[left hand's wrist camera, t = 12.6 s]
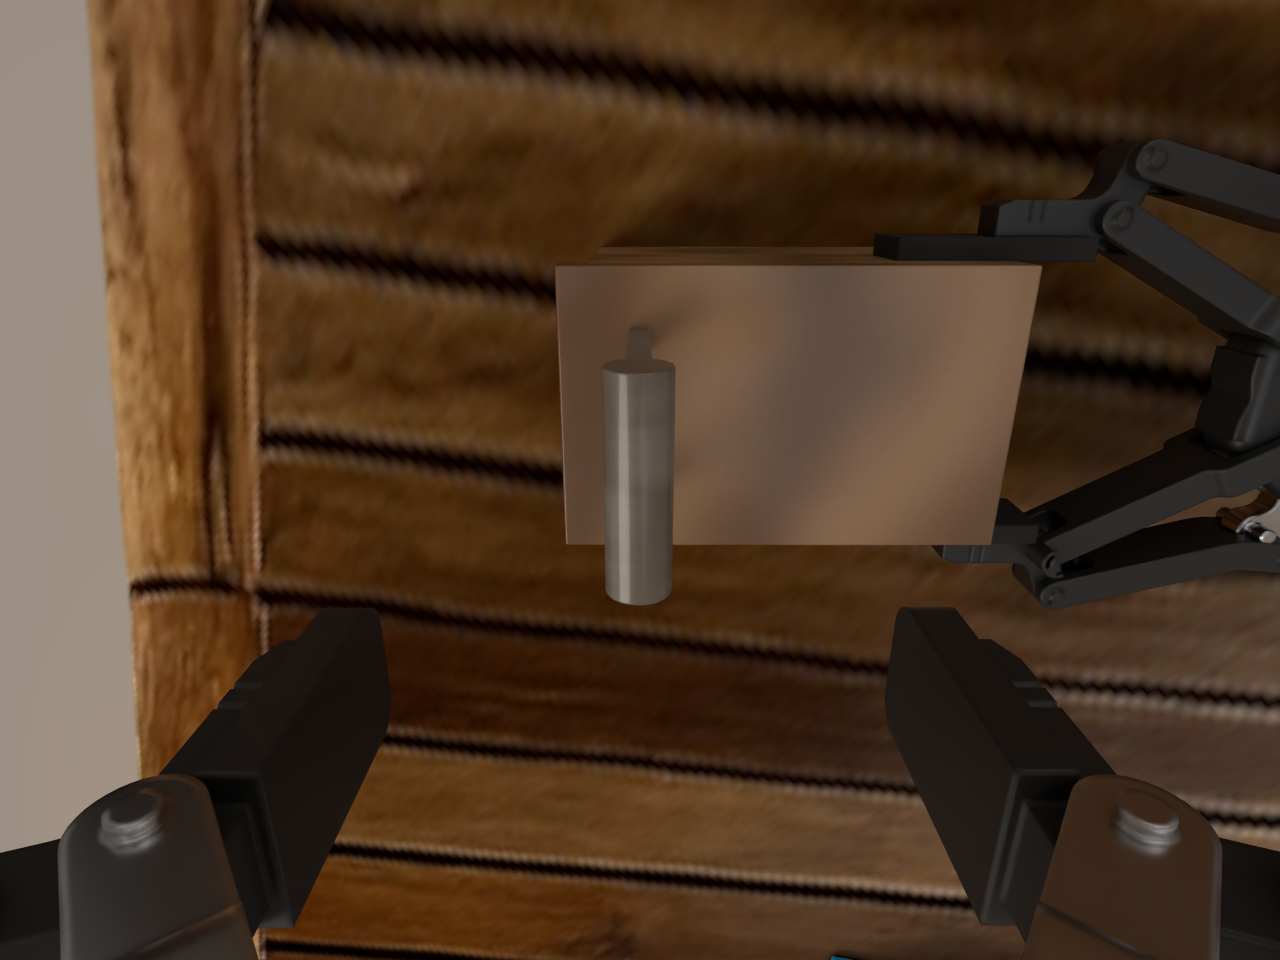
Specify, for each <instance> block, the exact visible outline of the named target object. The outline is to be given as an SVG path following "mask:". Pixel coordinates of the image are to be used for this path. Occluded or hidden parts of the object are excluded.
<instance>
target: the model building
mask: <svg viewBox="0 0 1280 960" xmlns="http://www.w3.org/2000/svg"><path fill="white" fill-rule="evenodd" d="M831 960H851V959H846V958H840V957H835V956H832V958H831Z"/></svg>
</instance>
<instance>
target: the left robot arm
mask: <svg viewBox="0 0 1280 960" xmlns="http://www.w3.org/2000/svg"><path fill="white" fill-rule="evenodd" d="M885 707H886V716H887V721H888V725H889V729H890V732H891V734H892V737H893V739H894V741H895V743H896V745H897V747H898V749H899V751H900V754H901V756H902V758H903V760H904V762H905V764H906V766H907V768H908V771H909V773H910V775H911V777H912V779H913V781H914V783H915V785H916V788H917V790H918V792H919V794H920V796H921V798H922V800H923V802H924V805H925V807H926V809H927V811H928V813H929V815H930V817H931V819H932V822H933V824H934V826H935V828H936V830H937V832H938V834H939V837H940V839H941V841H942V843H943V845H944V847H945V849H946V851H947V854H948V856H949V858H950V860H951V862H952V864H953V866H954V868H955V871H956V873H957V875H958V877H959V879H960V881H961V883H962V885H963V888H964V890H965V892H966V894H967V896H968V898H969V900H970V902H971V905H972V907H973V909H974V911H975V913H976V915H977V917H978V919H979V922H980V924H981V925H1016V926H1017V927H1018V929H1019V931H1020V933H1021V935H1022V937H1023V939H1024V941H1025V943H1026V946H1025V949H1024V953H1023V956H1022V959H1021V960H1280V852H1279V851H1274V850H1270V849H1266V848H1261V847H1257V846H1253V845H1249V844H1244V843H1240V842H1236V841H1231V840H1227V839H1223V838H1219V837H1218V835H1217V834H1216V832H1215V830H1214V829H1213V827H1212V826H1211V825H1210V824H1209V823H1208V821H1207V820H1206V819H1205V818H1204V817H1203V816H1202V815H1201V814H1200V813H1199V812H1197V811H1196V810H1195V809H1194V808H1193V807H1191V806H1190V805H1189V804H1187V803H1186V802H1185V801H1183V800H1181V799H1180V798H1178V797H1177V796H1175V795H1173V794H1171V793H1170V792H1168V791H1166V790H1164V789H1162V788H1160V787H1157V786H1155V785H1152V784H1150V783H1147V782H1144V781H1141V780H1138V779H1135V778H1131V777H1126V776H1120V775H1117V774H1116V773H1115V772H1114V771H1113V770H1112V768H1111V767H1110V766H1109V765H1108V764H1107V762H1106V761H1105V760H1104V759H1103V758H1102V756H1101V755H1100V754H1099V753H1098V751H1097V750H1096V749H1095V748H1094V747H1093V745H1092V744H1091V743H1090V742H1089V741H1088V739H1087V738H1086V737H1085V736H1084V735H1083V733H1082V732H1081V731H1080V730H1079V729H1078V727H1077V726H1076V725H1075V724H1074V723H1073V721H1072V720H1071V719H1070V718H1069V716H1068V715H1067V714H1066V713H1065V712H1064V710H1063V709H1062V708H1058V707H1057V702H1056V701H1055V700H1054V698H1053V697H1052V696H1051V695H1050V694H1049V692H1048V691H1047V690H1046V689H1045V688H1041V683H1040V681H1039V680H1038V679H1037V678H1036V677H1035V675H1034V674H1033V673H1032V672H1031V671H1030V669H1029V668H1028V667H1027V666H1026V665H1025V663H1024V662H1023V661H1022V660H1021V659H1020V658H1018V657H1017V656H1015V655H1014V654H1012V653H1011V652H1009V651H1008V650H1006V649H1005V648H1003V647H1002V646H1000V645H999V644H997V643H996V642H994V641H993V640H991V639H978V637H977V636H976V635H975V633H974V632H973V631H972V630H971V628H970V627H969V626H968V624H967V623H966V622H965V621H964V619H963V618H962V617H961V615H960V614H959V613H958V611H957V610H956V609H954V608H953V607H902V608H901V609H900V610H899V611H898V614H897V617H896V621H895V627H894V635H893V642H892V649H891V656H890V663H889V670H888V677H887V684H886V692H885ZM390 712H391V691H390V684H389V677H388V670H387V663H386V656H385V649H384V642H383V635H382V628H381V622H380V618H379V615H378V612H377V611H376V610H375V609H374V608H324V609H322V610H320V611H319V612H318V614H317V615H316V616H315V617H314V619H313V620H312V621H311V623H310V624H309V625H308V626H307V628H306V629H305V630H304V632H303V633H302V634H301V635H300V637H299V638H298V639H297V641H284V642H282V643H281V644H279V645H278V646H276V647H274V648H273V649H271V650H270V651H268V652H267V653H265V654H264V655H262V656H261V657H259V658H258V659H256V660H255V661H254V662H253V663H252V664H251V665H250V666H249V668H248V669H247V670H246V671H245V672H244V674H243V675H242V676H241V677H240V678H239V680H238V681H237V682H236V683H235V684H234V689H230V690H229V692H228V693H227V694H226V695H225V696H224V697H223V699H222V700H221V701H220V702H219V703H218V708H217V709H213V711H212V712H211V713H210V714H209V715H208V717H207V718H206V719H205V720H204V721H203V723H202V724H201V725H200V726H199V727H198V729H197V730H196V731H195V732H194V733H193V735H192V736H191V737H190V738H189V739H188V741H187V742H186V743H185V744H184V745H183V747H182V748H181V749H180V750H179V751H178V753H177V754H176V755H175V756H174V757H173V758H172V760H171V761H170V762H169V763H168V764H167V766H166V767H165V768H164V769H163V770H162V772H161V773H160V774H159V775H158V776H154V777H149V778H145V779H142V780H139V781H136V782H133V783H130V784H128V785H125V786H123V787H120V788H118V789H116V790H114V791H112V792H111V793H109V794H107V795H105V796H104V797H102V798H100V799H99V800H97V801H96V802H94V803H93V804H91V805H90V806H89V807H87V808H86V809H85V810H84V811H83V812H81V813H80V814H79V815H78V816H77V817H76V818H75V819H74V820H73V821H72V823H71V824H70V825H69V826H68V827H67V829H66V830H65V832H64V834H63V835H62V837H61V839H57V840H53V841H50V842H45V843H41V844H37V845H33V846H28V847H24V848H19V849H15V850H11V851H6V852H3V853H0V960H259V959H258V956H257V953H256V949H255V946H254V942H253V939H252V938H253V936H254V934H255V932H256V930H257V929H258V928H294V925H295V923H296V921H297V919H298V917H299V915H300V913H301V911H302V909H303V907H304V904H305V902H306V900H307V898H308V896H309V894H310V892H311V890H312V888H313V886H314V883H315V881H316V879H317V877H318V875H319V873H320V871H321V869H322V867H323V864H324V862H325V860H326V858H327V856H328V854H329V852H330V850H331V848H332V846H333V843H334V841H335V839H336V837H337V835H338V833H339V831H340V829H341V827H342V825H343V822H344V820H345V818H346V816H347V814H348V812H349V810H350V808H351V806H352V804H353V801H354V799H355V797H356V795H357V793H358V791H359V789H360V787H361V785H362V783H363V780H364V778H365V776H366V774H367V772H368V770H369V768H370V766H371V764H372V762H373V759H374V757H375V755H376V753H377V751H378V749H379V747H380V745H381V743H382V740H383V738H384V736H385V734H386V731H387V728H388V724H389V719H390Z"/></svg>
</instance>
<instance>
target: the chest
mask: <svg viewBox="0 0 1280 960" xmlns="http://www.w3.org/2000/svg"><path fill="white" fill-rule="evenodd" d="M873 249H874V247H600V248H599V249H598V250H597V252H596V253H595V254H594V255H593V256H592V258H591V259H590V260H589V261H588V262H587V263H1025V262H1019V261H895V260H891V259H887V258H883V257H879V256H874V255H873Z"/></svg>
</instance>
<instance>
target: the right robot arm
mask: <svg viewBox="0 0 1280 960" xmlns="http://www.w3.org/2000/svg"><path fill="white" fill-rule="evenodd" d="M1093 169H1094V173H1095V174H1094V176H1093V177H1092V179H1091V181H1090V183H1089V185H1088V186H1087V188H1086V189H1085V190H1084V191H1083V192H1082V193H1081V194H1079V195H1078V196H1076V197H1074V198H1071V199H1066V200H995V201H992V202H990V203H987V204H985V205H982V206H981V213H980V219H979V226H978V232H977V234H875V239H874V249H873V255H874V256H879V257H883V258H887V259H891V260H895V261H1019V262H1095V259H1096V254H1097V252H1098V253H1100V254H1102V255H1103V256H1105V257H1106V258H1108V259H1109V260H1111V261H1112V262H1114V263H1116V264H1117V265H1119V266H1120V267H1122V268H1123V269H1125V270H1126V271H1128V272H1129V273H1131V274H1133V275H1134V276H1136V277H1137V278H1139V279H1140V280H1142V281H1143V282H1145V283H1147V284H1148V285H1150V286H1151V287H1153V288H1154V289H1156V290H1157V291H1159V292H1161V293H1162V294H1164V295H1165V296H1167V297H1168V298H1170V299H1171V300H1173V301H1174V302H1176V303H1178V304H1179V305H1181V306H1182V307H1184V308H1185V309H1187V310H1188V311H1190V312H1192V313H1193V314H1195V315H1196V316H1197V317H1198V318H1197V320H1198V321H1199V322H1201V323H1202V324H1204V325H1205V326H1207V327H1209V328H1210V329H1212V330H1213V331H1215V332H1216V333H1218V334H1219V335H1221V336H1223V337H1224V338H1226V339H1227V340H1228V341H1227V343H1226V345H1225V346H1217V347H1216V351H1215V354H1214V358H1213V361H1212V365H1211V387H1210V389H1209V391H1208V393H1207V395H1206V397H1205V399H1204V400H1203V402H1202V404H1201V406H1200V408H1199V412H1198V416H1197V419H1196V423H1195V426H1197V427H1195V428H1192V429H1190V430H1188V431H1186V432H1184V433H1181V434H1179V435H1177V436H1175V437H1173V438H1170V439H1169V440H1167V441H1166V442H1165V443H1164V448H1163V449H1162V450H1161V451H1159V452H1157V453H1154V454H1152V455H1150V456H1148V457H1145V458H1143V459H1141V460H1139V461H1137V462H1134V463H1132V464H1130V465H1128V466H1126V467H1123V468H1121V469H1119V470H1117V471H1115V472H1112V473H1110V474H1108V475H1106V476H1104V477H1101V478H1099V479H1097V480H1095V481H1093V482H1090V483H1088V484H1086V485H1084V486H1082V487H1079V488H1077V489H1075V490H1073V491H1071V492H1068V493H1066V494H1064V495H1062V496H1060V497H1057V498H1055V499H1053V500H1051V501H1049V502H1046V503H1044V504H1042V505H1040V506H1038V507H1035V508H1033V509H1031V510H1029V511H1027V512H1024V513H1023V512H1022V511H1021V510H1020V509H1019V508H1017V507H1016V506H1015V505H1014V504H1012V503H1011V502H1010V501H1009V500H1007V499H1006V498H1000V499H999V504H998V509H997V515H996V520H995V526H994V531H993V536H992V542H991V545H931V546H932V547H933V548H934V549H935V550H936V551H937V553H938V554H939V555H940V556H941V557H942V559H945V560H948V561H950V562H953V563H1014V564H1013V566H1012V573H1013V576H1014V577H1015V578H1016V579H1017V580H1018V581H1019V582H1020V583H1021V584H1022V585H1023V586H1024V587H1025V588H1026V589H1027V590H1028V591H1029V592H1030V593H1031V594H1032V595H1033V596H1034V597H1035V598H1036V599H1037V600H1038V601H1039V602H1040V603H1041V604H1042V605H1043V606H1044V607H1045V608H1048V609H1060V608H1064V607H1069V606H1074V605H1078V604H1083V603H1087V602H1092V601H1096V600H1101V599H1106V598H1110V597H1115V596H1119V595H1124V594H1129V593H1133V592H1138V591H1142V590H1147V589H1151V588H1156V587H1161V586H1165V585H1170V584H1174V583H1179V582H1183V581H1188V580H1193V579H1197V578H1202V577H1206V576H1211V575H1215V574H1220V573H1225V572H1229V571H1234V570H1250V571H1261V572H1273V573H1280V298H1279V297H1277V296H1275V295H1273V294H1271V293H1270V292H1268V291H1267V290H1265V289H1264V288H1262V287H1261V286H1259V285H1258V284H1256V283H1255V282H1253V281H1252V280H1250V279H1249V278H1247V277H1246V276H1244V275H1243V274H1241V273H1240V272H1238V271H1237V270H1235V269H1234V268H1232V267H1231V266H1229V265H1228V264H1226V263H1225V262H1223V261H1221V260H1220V259H1218V258H1217V257H1215V256H1214V255H1212V254H1211V253H1209V252H1208V251H1206V250H1205V249H1203V248H1202V247H1200V246H1199V245H1197V244H1196V243H1194V242H1193V241H1191V240H1190V239H1188V238H1187V237H1185V236H1184V235H1182V234H1181V233H1179V232H1178V231H1176V230H1175V229H1173V228H1172V227H1170V226H1169V225H1167V224H1166V223H1164V222H1163V221H1161V220H1160V219H1158V218H1157V217H1155V216H1154V215H1152V214H1151V213H1149V212H1148V211H1146V210H1145V209H1143V208H1142V207H1140V205H1141V203H1142V201H1143V199H1144V198H1145V196H1146V194H1147V195H1150V196H1154V197H1157V198H1160V199H1163V200H1167V201H1170V202H1173V203H1177V204H1180V205H1183V206H1187V207H1190V208H1193V209H1196V210H1200V211H1203V212H1206V213H1210V214H1213V215H1216V216H1220V217H1223V218H1226V219H1229V220H1233V221H1236V222H1239V223H1243V224H1246V225H1249V226H1252V227H1256V228H1259V229H1262V230H1266V231H1270V232H1275V233H1280V175H1279V174H1275V173H1272V172H1269V171H1266V170H1263V169H1259V168H1256V167H1253V166H1250V165H1247V164H1243V163H1240V162H1237V161H1234V160H1231V159H1227V158H1224V157H1221V156H1218V155H1214V154H1211V153H1208V152H1205V151H1202V150H1198V149H1195V148H1192V147H1189V146H1186V145H1182V144H1179V143H1176V142H1173V141H1170V140H1166V139H1152V140H1143V141H1135V142H1126V143H1117V144H1111V145H1108V146H1105V147H1104V148H1103V149H1102V150H1100V151H1099V153H1098V154H1097V156H1096V157H1095V160H1094V164H1093ZM1253 489H1258V490H1259V491H1260V493H1259V495H1258V497H1257V498H1256V499H1255V500H1254V501H1253V502H1252V503H1250V504H1248V505H1246V506H1241V507H1235V508H1233V509H1230V508H1228V507H1222V508H1220V509H1219V510H1218V511H1217V513H1216V517H1196V518H1189V519H1183V520H1179V521H1174V522H1170V523H1165V524H1161V525H1157V526H1152V527H1148V528H1145V527H1147V526H1149V525H1151V524H1154V523H1156V522H1158V521H1161V520H1163V519H1165V518H1167V517H1170V516H1172V515H1174V514H1177V513H1179V512H1181V511H1183V510H1186V509H1188V508H1190V507H1193V506H1195V505H1197V504H1199V503H1202V502H1204V501H1206V500H1209V499H1211V498H1214V497H1227V498H1229V497H1236V496H1239V495H1242V494H1244V493H1246V492H1249V491H1251V490H1253ZM1142 528H1143V529H1142Z"/></svg>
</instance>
